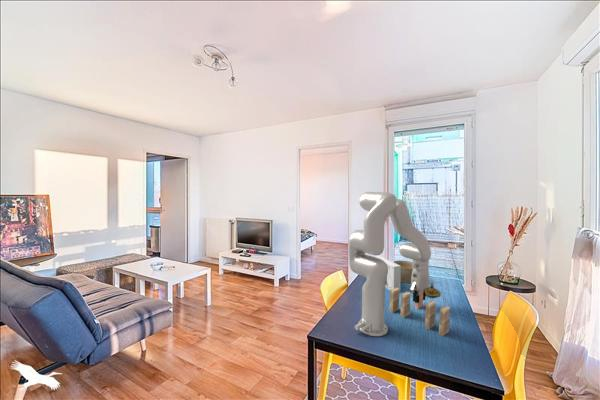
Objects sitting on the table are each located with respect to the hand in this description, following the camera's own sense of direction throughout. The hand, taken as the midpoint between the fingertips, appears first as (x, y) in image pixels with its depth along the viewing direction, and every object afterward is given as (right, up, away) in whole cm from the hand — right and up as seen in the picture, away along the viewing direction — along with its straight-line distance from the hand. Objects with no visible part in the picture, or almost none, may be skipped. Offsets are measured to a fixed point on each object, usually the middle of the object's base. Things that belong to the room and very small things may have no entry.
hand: (419, 300), depth 134 cm
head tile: (-14, -4, -4) cm, 15 cm away
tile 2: (0, -3, 0) cm, 4 cm away
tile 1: (-11, -4, -9) cm, 14 cm away
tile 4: (0, -5, -23) cm, 24 cm away
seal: (+15, -3, +17) cm, 23 cm away
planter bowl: (+8, -1, +37) cm, 38 cm away
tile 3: (-4, -5, -18) cm, 19 cm away
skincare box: (-8, -2, +28) cm, 29 cm away
